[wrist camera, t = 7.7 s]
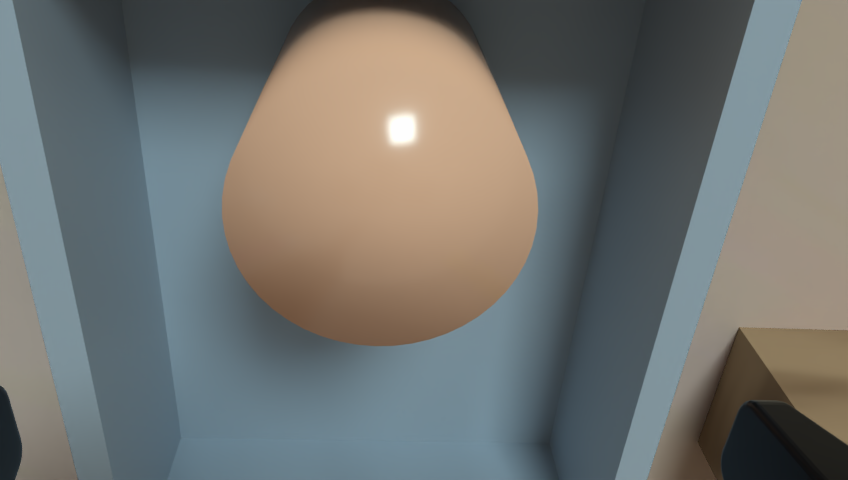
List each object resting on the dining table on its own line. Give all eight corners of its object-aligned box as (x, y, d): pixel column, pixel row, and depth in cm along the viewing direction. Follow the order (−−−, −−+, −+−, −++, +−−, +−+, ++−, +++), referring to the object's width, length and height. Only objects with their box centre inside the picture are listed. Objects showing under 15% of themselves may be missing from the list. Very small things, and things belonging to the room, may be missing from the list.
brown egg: (497, -18, 16) (562, 78, 10) (473, 180, 19) (515, 349, 13) (275, -32, 16) (209, 58, 10) (281, 171, 19) (231, 342, 13)
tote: (564, 447, 25) (608, 598, 20) (162, 441, 24) (107, 599, 19) (697, -118, 16) (830, -89, 11) (69, -165, 15) (-79, -158, 10)
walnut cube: (832, 442, 26) (922, 568, 21) (696, 439, 25) (760, 567, 21) (888, 330, 23) (1002, 447, 19) (738, 325, 23) (819, 444, 18)
